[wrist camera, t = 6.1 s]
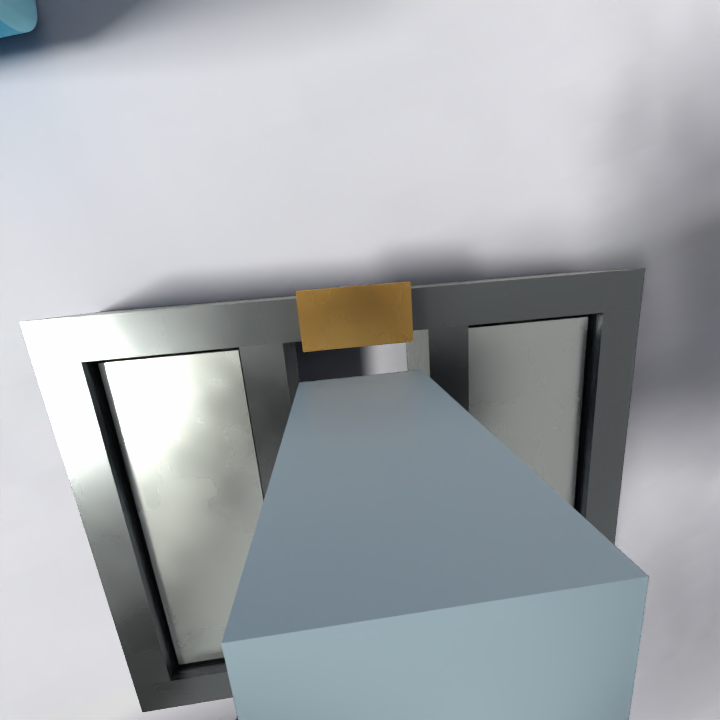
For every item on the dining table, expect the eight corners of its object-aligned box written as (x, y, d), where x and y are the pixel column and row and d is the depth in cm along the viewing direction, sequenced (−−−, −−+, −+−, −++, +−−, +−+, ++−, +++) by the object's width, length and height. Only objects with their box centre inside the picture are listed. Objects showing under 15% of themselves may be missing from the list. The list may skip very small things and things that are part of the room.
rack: (554, 571, 16) (617, 651, 12) (179, 627, 15) (132, 734, 11) (573, 266, 13) (666, 259, 9) (95, 306, 12) (-6, 316, 8)
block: (433, 676, 10) (565, 1167, 5) (338, 692, 10) (352, 1227, 4) (421, 370, 8) (648, 576, 2) (299, 382, 8) (222, 643, 2)
